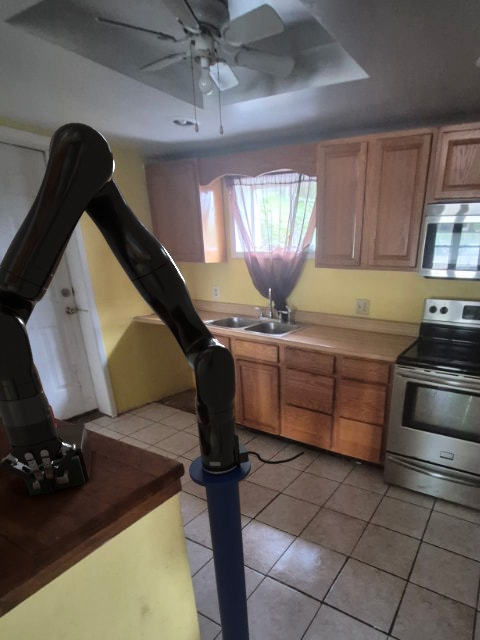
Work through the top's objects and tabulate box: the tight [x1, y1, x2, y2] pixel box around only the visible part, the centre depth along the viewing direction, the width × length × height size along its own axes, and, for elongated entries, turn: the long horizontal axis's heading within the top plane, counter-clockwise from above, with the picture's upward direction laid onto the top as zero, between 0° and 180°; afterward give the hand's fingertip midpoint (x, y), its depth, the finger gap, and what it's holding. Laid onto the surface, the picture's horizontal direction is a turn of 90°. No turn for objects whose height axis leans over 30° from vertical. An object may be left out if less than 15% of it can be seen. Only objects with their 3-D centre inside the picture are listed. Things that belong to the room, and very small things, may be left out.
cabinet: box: [18, 423, 93, 482], centre depth 88 cm, size 14×12×9 cm
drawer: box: [23, 452, 86, 497], centre depth 83 cm, size 17×10×7 cm, turn 25°
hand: (51, 492), depth 76 cm, fingers closed
